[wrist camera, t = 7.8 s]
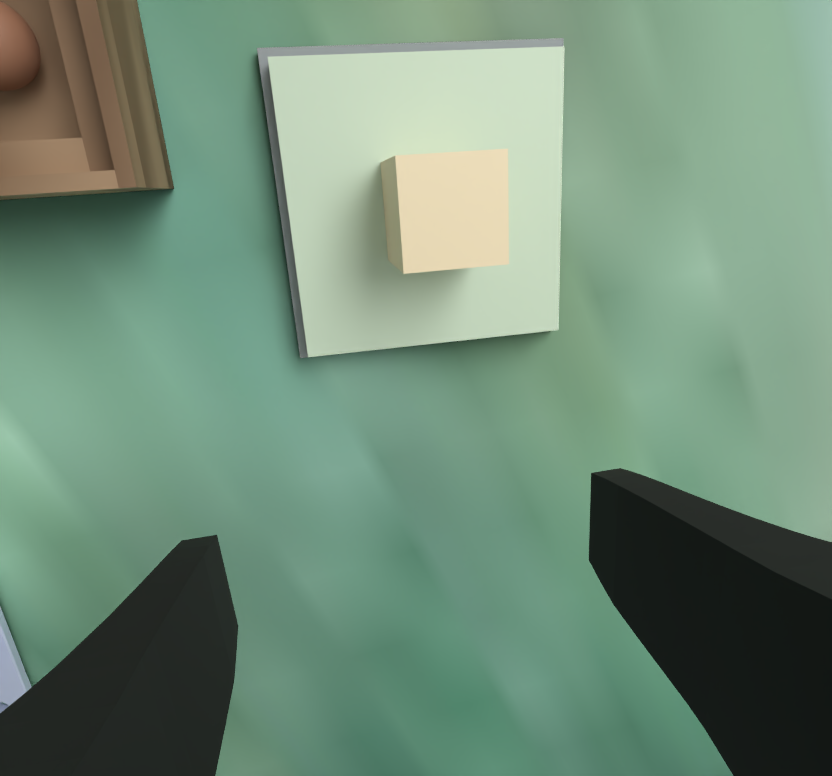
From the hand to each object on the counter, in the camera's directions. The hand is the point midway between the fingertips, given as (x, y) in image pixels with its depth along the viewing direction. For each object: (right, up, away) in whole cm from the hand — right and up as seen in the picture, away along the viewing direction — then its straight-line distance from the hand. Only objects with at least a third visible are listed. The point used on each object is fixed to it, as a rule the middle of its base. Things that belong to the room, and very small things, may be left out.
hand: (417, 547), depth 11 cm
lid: (0, +9, +7) cm, 11 cm away
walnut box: (-13, +13, +4) cm, 18 cm away
